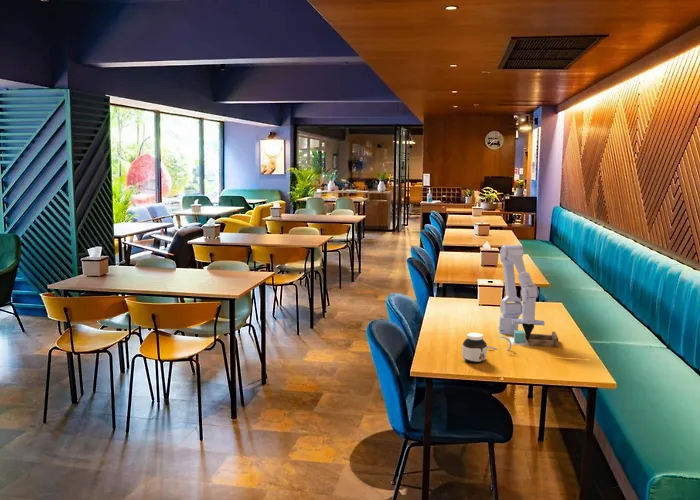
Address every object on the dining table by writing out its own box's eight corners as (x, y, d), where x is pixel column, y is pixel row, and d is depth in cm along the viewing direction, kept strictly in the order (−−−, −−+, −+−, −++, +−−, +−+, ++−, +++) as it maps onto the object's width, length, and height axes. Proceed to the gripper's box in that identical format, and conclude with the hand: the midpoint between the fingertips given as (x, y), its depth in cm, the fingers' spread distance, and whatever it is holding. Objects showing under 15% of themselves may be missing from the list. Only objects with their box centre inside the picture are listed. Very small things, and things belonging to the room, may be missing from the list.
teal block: (514, 342, 293) (514, 333, 292) (513, 339, 297) (514, 330, 297) (524, 342, 292) (524, 333, 291) (523, 340, 296) (523, 330, 296)
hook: (511, 355, 276) (466, 356, 283) (513, 349, 285) (469, 350, 292) (509, 339, 275) (464, 340, 282) (511, 333, 284) (467, 335, 291)
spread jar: (469, 365, 262) (470, 338, 260) (454, 357, 272) (455, 331, 271) (492, 361, 267) (494, 335, 265) (477, 354, 277) (478, 328, 275)
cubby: (508, 345, 290) (509, 335, 289) (507, 338, 302) (507, 328, 301) (557, 348, 286) (558, 338, 285) (554, 341, 297) (555, 331, 297)
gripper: (513, 312, 289) (512, 340, 291) (545, 314, 287) (544, 342, 289) (512, 308, 296) (511, 336, 298) (544, 310, 293) (542, 338, 295)
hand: (527, 339), depth 294 cm, fingers closed
